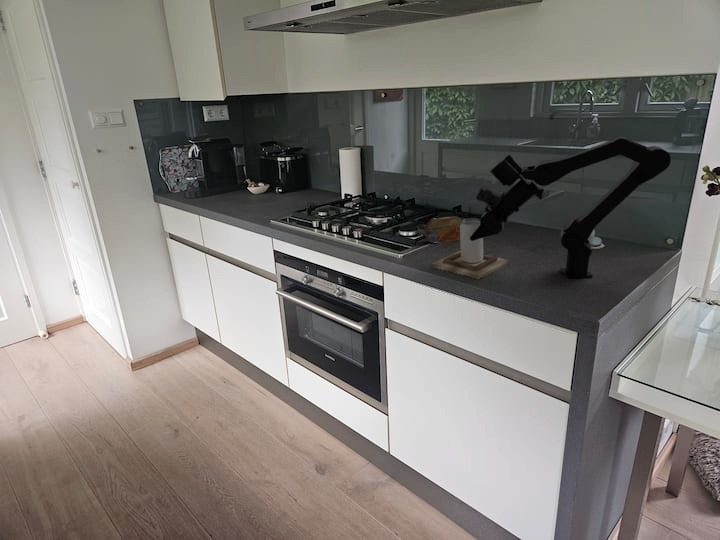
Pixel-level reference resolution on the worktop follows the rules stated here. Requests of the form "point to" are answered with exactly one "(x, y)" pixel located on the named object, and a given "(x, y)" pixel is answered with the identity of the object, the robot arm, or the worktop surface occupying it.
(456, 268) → the base plate
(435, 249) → the worktop surface
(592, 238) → the pacifier
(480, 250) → the can
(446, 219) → the tin
